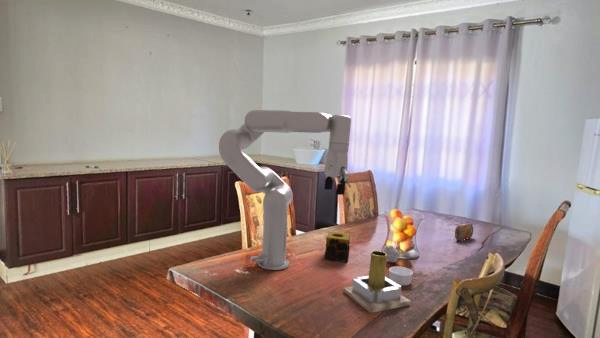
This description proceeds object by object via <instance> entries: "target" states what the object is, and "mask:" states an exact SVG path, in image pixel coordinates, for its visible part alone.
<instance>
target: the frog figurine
mask: <svg viewBox="0 0 600 338" xmlns="http://www.w3.org/2000/svg"><path fill="white" fill-rule="evenodd" d="M383 252H385V253H386V254H387V260H386V261H388V262H389V263H396V262H397V261H398V259H399V257H400V252H399V250H397V249H396V248H395V247H394V246H393V245H388V246H386V247H384V248H383Z"/></svg>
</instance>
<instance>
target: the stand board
mask: <svg viewBox="0 0 600 338" xmlns="http://www.w3.org/2000/svg"><path fill="white" fill-rule="evenodd" d="M352 288H353V285H352V286H345V287H343V289H342V290H343V291H342V292H343V293H344V294H345V295H347V296H348V297H349V298H350V299H352V300H353V301H355V303H357V304H358V305H359V306H361V307H362V308H363V309H364V310H366V311H367V312H368V313H369V314H372V313H377V312H382V311H386V310H392V309H393V310H394V309H397V308H402V307H409V306H411V300H410V299H408V298H407V297H405V296H403V295H402V294H401V298H398V300H396V301H391V302H385V303H380V304H376V303H371V304H370V303H369V302H367V301H366V300H365V299H363V298H362V297H361V296H359V295H358V294H357V293H355V292H354V291H353V290H352Z"/></svg>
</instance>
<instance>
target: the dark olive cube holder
mask: <svg viewBox="0 0 600 338" xmlns="http://www.w3.org/2000/svg"><path fill="white" fill-rule="evenodd" d="M350 236H351V233H347V232H338V231H327V235H326V237H325V241H326V242H325V250H324V258H323V259H324V260H328V261H333V262H334V261H335V262H343V263H348V262H349V256H350V241H351V240H350Z"/></svg>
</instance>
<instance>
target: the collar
mask: <svg viewBox="0 0 600 338" xmlns="http://www.w3.org/2000/svg"><path fill="white" fill-rule="evenodd" d="M368 277H369V275H362V276H356V278H353V279H352V286H353V288H352V290H353V291H354V292H355V293H357V294H358V295H359V296H361V297H362V298H363V299H365V300H366V301H367V302H369V303H370V304H371V303H376V304H380V303H385V302H391V301H396V300H398V298H401V295H402V285H398V284H396V283H395V282H393V281H392V280H390V278H388V276H387V277H386V276H385V288H381V289H375V290H374V289H373V288H371V287H370V286H368Z"/></svg>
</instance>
